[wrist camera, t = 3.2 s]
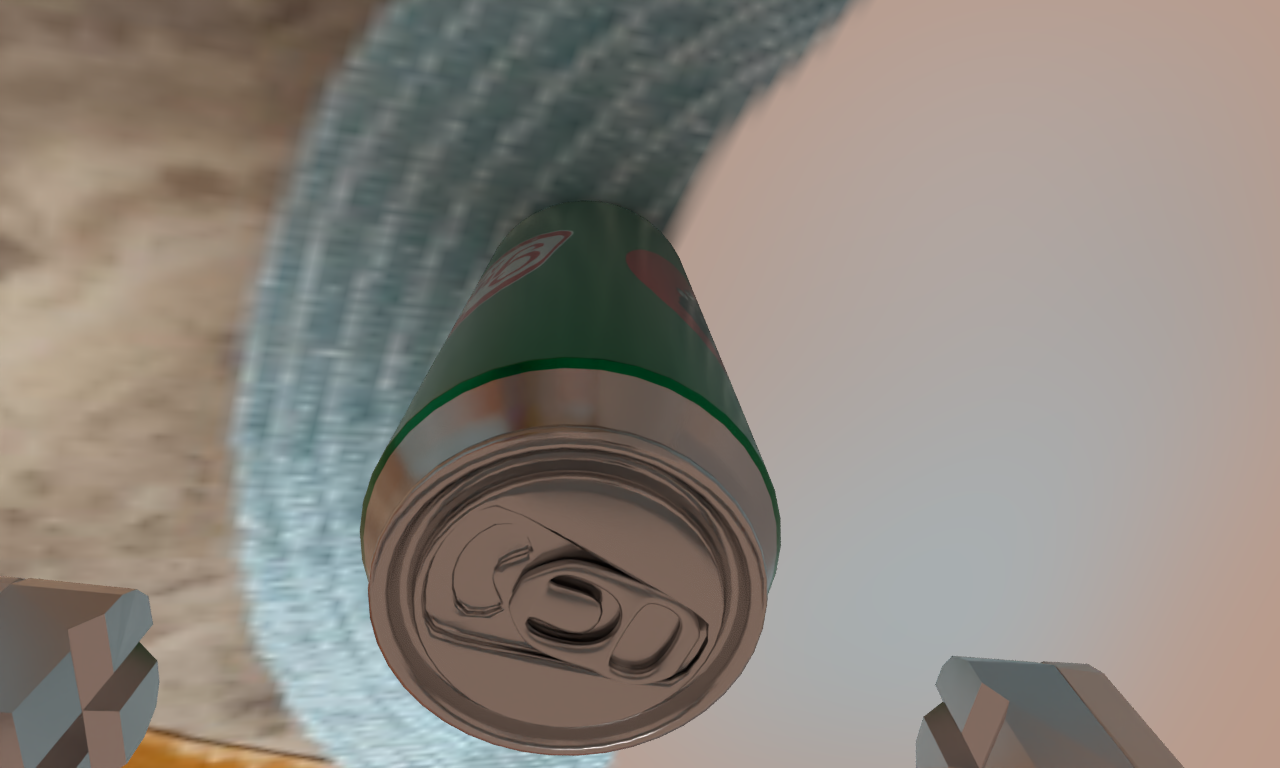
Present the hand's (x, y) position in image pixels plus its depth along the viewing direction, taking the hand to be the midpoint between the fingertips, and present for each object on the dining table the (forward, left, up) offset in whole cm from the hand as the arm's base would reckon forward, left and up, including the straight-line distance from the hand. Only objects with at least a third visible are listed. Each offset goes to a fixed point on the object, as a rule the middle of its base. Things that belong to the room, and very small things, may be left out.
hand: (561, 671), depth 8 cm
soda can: (0, 0, -13) cm, 13 cm away
